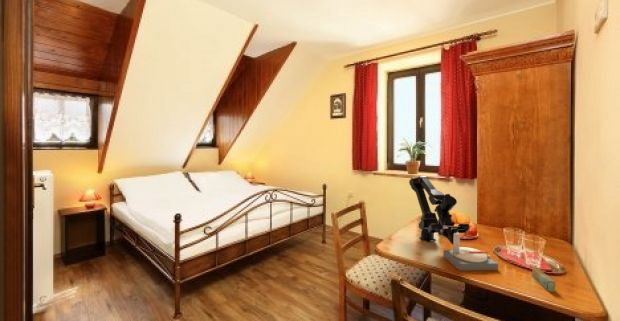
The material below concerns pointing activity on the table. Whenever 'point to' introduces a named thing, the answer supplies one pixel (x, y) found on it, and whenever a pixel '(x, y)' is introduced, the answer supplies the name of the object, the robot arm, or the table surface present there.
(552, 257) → the table surface
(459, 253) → the dial
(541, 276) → the medication box
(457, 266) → the level stand
